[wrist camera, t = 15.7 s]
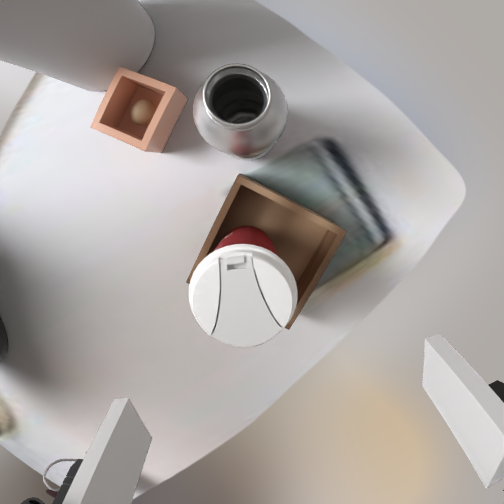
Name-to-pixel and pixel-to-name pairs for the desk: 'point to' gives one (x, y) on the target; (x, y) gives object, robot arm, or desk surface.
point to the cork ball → (142, 112)
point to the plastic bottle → (240, 111)
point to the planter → (121, 101)
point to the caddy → (279, 232)
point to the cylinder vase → (76, 38)
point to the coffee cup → (243, 289)
